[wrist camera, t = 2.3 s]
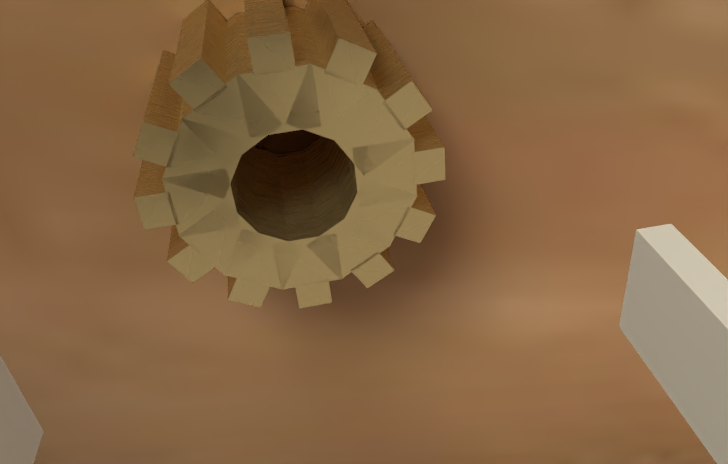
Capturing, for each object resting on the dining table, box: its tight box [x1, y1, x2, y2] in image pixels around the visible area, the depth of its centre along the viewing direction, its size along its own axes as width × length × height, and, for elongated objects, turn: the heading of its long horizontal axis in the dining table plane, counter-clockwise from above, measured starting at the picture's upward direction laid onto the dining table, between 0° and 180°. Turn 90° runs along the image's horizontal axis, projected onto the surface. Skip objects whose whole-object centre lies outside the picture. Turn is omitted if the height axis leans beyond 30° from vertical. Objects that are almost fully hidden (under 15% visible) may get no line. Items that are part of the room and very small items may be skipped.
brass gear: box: [133, 0, 445, 308], centre depth 21 cm, size 9×9×6 cm
